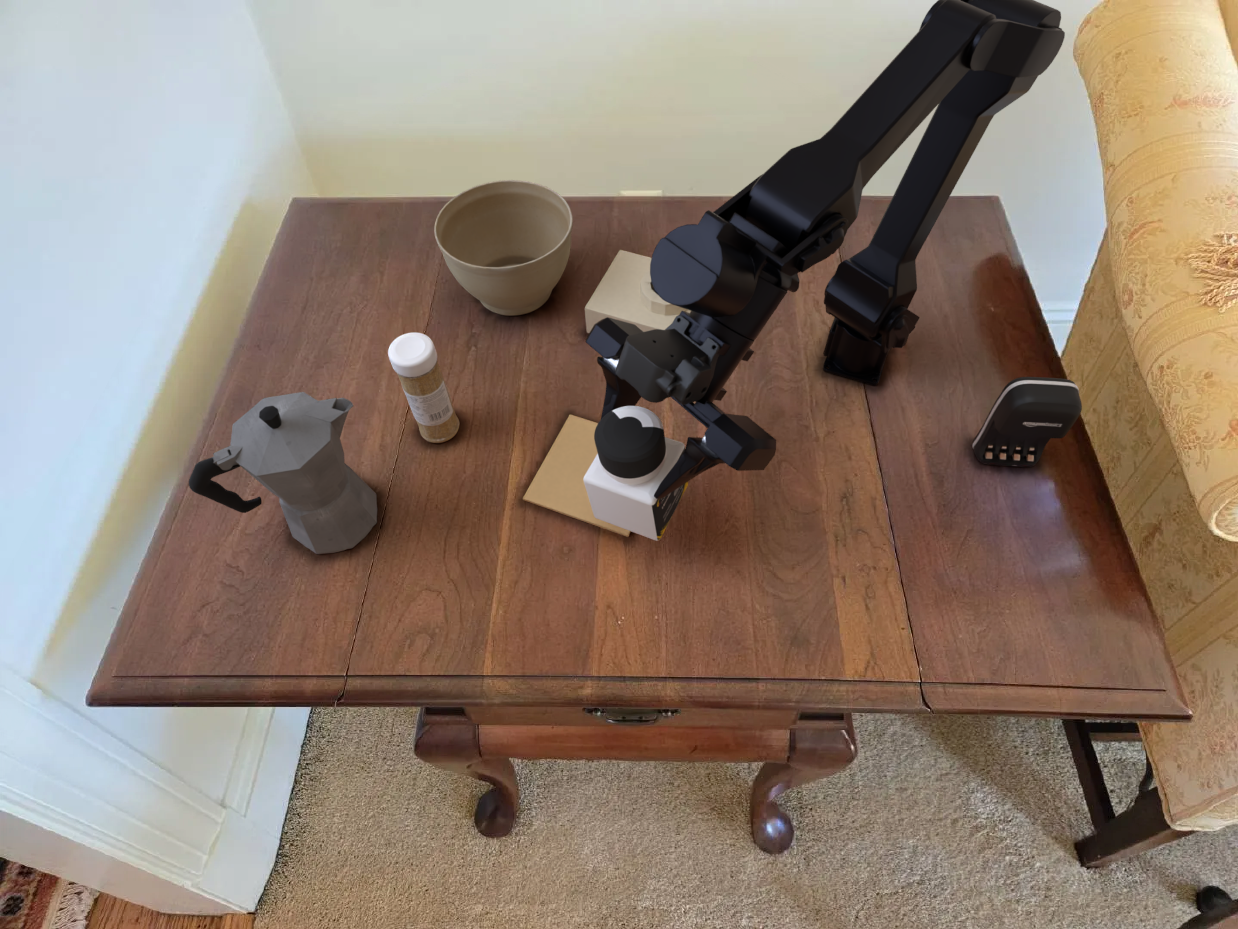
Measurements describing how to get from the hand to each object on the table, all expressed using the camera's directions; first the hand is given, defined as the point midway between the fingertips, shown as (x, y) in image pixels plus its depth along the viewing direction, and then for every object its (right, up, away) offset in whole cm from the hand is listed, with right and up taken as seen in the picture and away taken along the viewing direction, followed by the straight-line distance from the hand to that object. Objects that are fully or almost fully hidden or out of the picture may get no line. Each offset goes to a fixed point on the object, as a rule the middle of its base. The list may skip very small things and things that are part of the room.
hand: (627, 469), depth 69 cm
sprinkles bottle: (-21, +4, +19) cm, 28 cm away
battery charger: (+41, +1, +15) cm, 43 cm away
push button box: (+3, +19, +27) cm, 33 cm away
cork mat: (-3, -1, +15) cm, 15 cm away
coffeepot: (-31, -6, +12) cm, 34 cm away
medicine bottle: (+1, -3, +7) cm, 8 cm away
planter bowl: (-14, +23, +31) cm, 41 cm away
